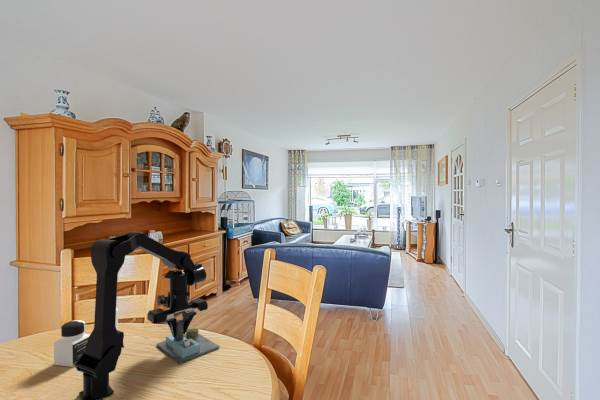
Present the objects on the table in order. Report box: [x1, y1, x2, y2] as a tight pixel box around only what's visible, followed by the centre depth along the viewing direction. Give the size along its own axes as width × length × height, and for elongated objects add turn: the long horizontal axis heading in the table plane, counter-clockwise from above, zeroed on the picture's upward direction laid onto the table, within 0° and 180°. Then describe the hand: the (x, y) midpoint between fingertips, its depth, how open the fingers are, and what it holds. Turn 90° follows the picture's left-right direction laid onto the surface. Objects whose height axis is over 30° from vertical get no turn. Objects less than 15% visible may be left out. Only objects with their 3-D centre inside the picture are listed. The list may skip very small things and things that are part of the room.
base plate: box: [156, 322, 220, 365], centre depth 110 cm, size 17×14×5 cm
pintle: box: [185, 339, 190, 348], centre depth 105 cm, size 2×2×5 cm
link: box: [165, 319, 200, 358], centre depth 108 cm, size 14×6×8 cm, turn 46°
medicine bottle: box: [53, 319, 91, 368], centre depth 101 cm, size 7×7×12 cm
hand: (179, 335), depth 109 cm, fingers closed on link, 3 cm apart
